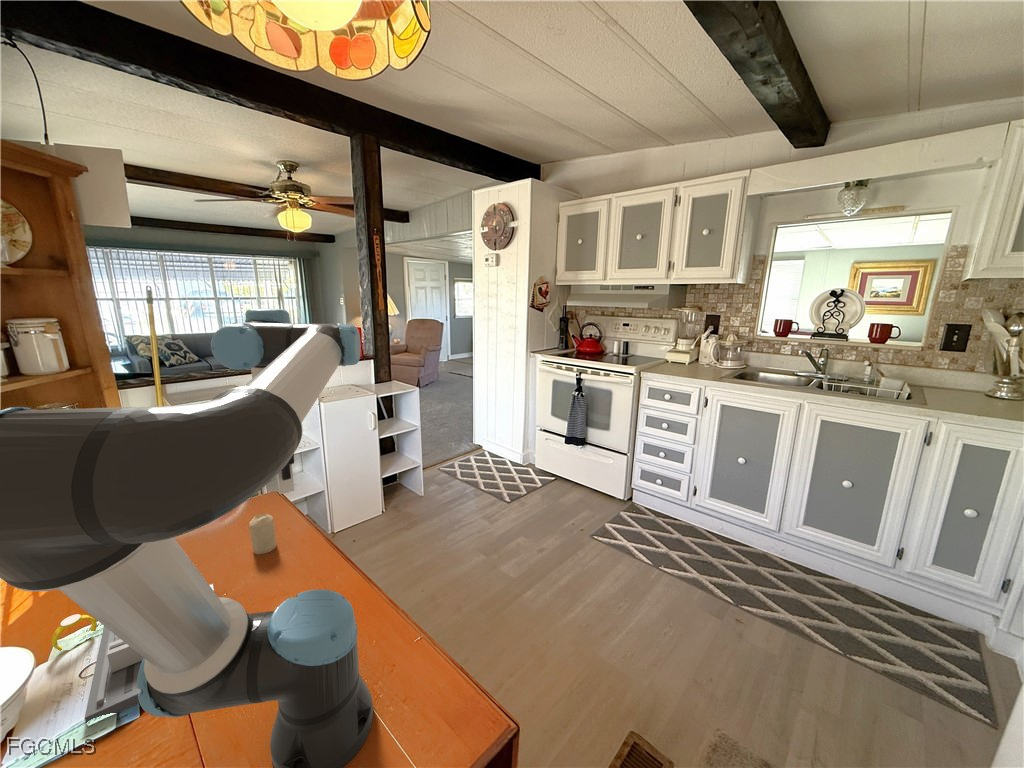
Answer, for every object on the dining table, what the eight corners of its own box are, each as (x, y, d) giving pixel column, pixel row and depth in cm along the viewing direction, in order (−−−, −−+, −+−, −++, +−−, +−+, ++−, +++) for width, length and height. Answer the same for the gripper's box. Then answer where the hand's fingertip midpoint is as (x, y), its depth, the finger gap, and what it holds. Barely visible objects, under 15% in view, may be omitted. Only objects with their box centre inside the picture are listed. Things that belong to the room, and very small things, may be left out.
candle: (248, 552, 107) (243, 519, 105) (265, 540, 112) (261, 509, 110) (264, 556, 106) (259, 523, 103) (281, 544, 111) (277, 512, 108)
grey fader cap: (149, 657, 74) (145, 639, 73) (111, 672, 71) (106, 654, 70) (149, 646, 76) (145, 628, 75) (113, 660, 73) (109, 642, 72)
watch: (61, 659, 76) (50, 635, 74) (54, 653, 77) (44, 630, 75) (102, 633, 81) (93, 610, 79) (95, 628, 82) (86, 606, 80)
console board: (222, 664, 75) (220, 652, 75) (87, 727, 64) (83, 714, 63) (213, 591, 93) (212, 580, 93) (106, 630, 82) (103, 618, 81)
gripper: (304, 389, 78) (314, 497, 83) (287, 377, 87) (296, 475, 92) (261, 394, 73) (274, 509, 78) (247, 382, 82) (259, 485, 87)
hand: (286, 491), depth 85 cm, fingers closed
